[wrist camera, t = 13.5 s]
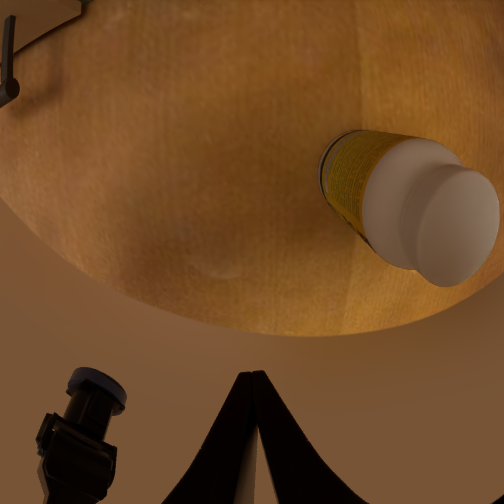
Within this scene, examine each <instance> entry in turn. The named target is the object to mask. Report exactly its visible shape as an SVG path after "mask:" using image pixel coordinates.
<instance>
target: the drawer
mask: <svg viewBox="0 0 504 504" xmlns="http://www.w3.org/2000/svg"><path fill="white" fill-rule="evenodd" d="M80 14H81V2H80V1H78V0H0V63H1V83H2V84H0V108H1V107H3V106H4V105H6V104H7V103H9V102H10V101H12V100H13V99H15V98H16V97H17V96H18V94H19V91H20V86H19V83H18V81H17V80H16V79H15V78H13V53H15V52H16V51H18V50H19V49H21V48H22V47H24V46H25V45H27V44H28V43H30V42H31V41H33V40H34V39H36V38H38V37H39V36H41V35H43V34H44V33H46V32H48V31H49V30H51V29H53V28H55V27H57V26H58V25H60V24H62V23H64V22H66V21H68V20H70V19H72V18H74V17H76V16H78V15H80Z"/></svg>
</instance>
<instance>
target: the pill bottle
mask: <svg viewBox="0 0 504 504" xmlns="http://www.w3.org/2000/svg"><path fill="white" fill-rule="evenodd" d="M318 181H319V187H320V190H321V193H322V195H323V197H324V199H325V200H326V202H327V203H328V204H329V206H330V207H331V208H332V209H333V210H334V211H335V212H336V213H337V214H338V215H339V216H340V217H341V218H342V219H343V220H344V221H345V222H346V223H347V224H348V225H349V226H350V227H351V228H352V229H353V230H354V231H355V232H356V233H357V234H358V235H359V236H360V237H361V238H362V239H363V240H364V241H365V242H366V243H367V244H368V245H369V246H370V247H371V248H372V249H373V251H374V252H376V253H377V254H378V255H379V256H380V257H381V258H383V259H384V260H385V261H386V262H388V263H390V264H392V265H394V266H396V267H399V268H402V269H409V270H415V269H416V270H417V271H418V272H419V273H420V274H421V275H422V276H423V277H425V278H426V279H427V280H428V281H429V282H431V283H432V284H434V285H437V286H441V287H450V286H455V285H457V284H460V283H462V282H464V281H466V280H467V279H469V278H470V277H471V276H473V275H474V274H475V273H476V272H477V271H478V270H479V269H480V267H481V266H482V265H483V264H484V262H485V261H486V259H487V258H488V256H489V254H490V252H491V250H492V248H493V246H494V243H495V240H496V237H497V234H498V229H499V221H500V207H499V200H498V197H497V193H496V191H495V189H494V187H493V185H492V184H491V182H490V181H489V180H488V179H487V178H486V177H485V176H484V175H483V174H481V173H479V172H477V171H475V170H472V169H469V168H466V167H464V166H463V164H462V163H461V161H460V160H459V159H458V157H457V156H456V155H455V154H454V153H453V152H452V151H451V150H449V149H448V148H447V147H445V146H444V145H442V144H440V143H438V142H435V141H432V140H428V139H424V138H419V137H413V136H406V135H399V134H392V133H385V132H377V131H369V130H354V131H349V132H346V133H344V134H342V135H340V136H338V137H337V138H335V139H334V140H333V141H332V142H331V143H330V144H329V145H328V147H327V148H326V150H325V151H324V153H323V155H322V157H321V160H320V163H319V169H318Z"/></svg>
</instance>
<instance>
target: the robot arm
mask: <svg viewBox="0 0 504 504" xmlns="http://www.w3.org/2000/svg"><path fill="white" fill-rule="evenodd" d="M66 393H67V394H68V395H70V396H71V397H72V398H71V400H70V402H69V404H68V406H67V409H66V411H65V413H64V416H63V418H62V417H60V416H59V415H58V414H57V413H55V412H54V413H53V415H52V414H49V413H47V414H46V416H45V418H44V420H43V422H42V425H41V427H40V430H39V432H38V435H37V437H36V443H37V445H38V447H37V448H38V451H37V454H38V455H39V456H41V460H40V463H39V466H38V469H37V472H38V476H39V480H40V483H41V486H42V489H43V492H44V495H45V497H44V501H43V504H96V503H97V502H99V501H101V500H103V499H104V498H105V497H106V495H107V489H108V488H109V487H110V486H111V484H112V482H113V479H114V476H115V468H116V457H117V447H115V446H112V445H110V444H108V443H105V442H104V439H105V436H106V433H107V429H108V426H109V423H110V419H111V416H112V415H113V414H116V413H118V412H121V411H123V410H125V406H124V405H123V404H121V403H120V402H119V401H117V400H116V399H114V398H113V397H111V396H110V395H109V394H107V393H106V392H105V391H103V390H102V389H101V388H99V387H98V386H97V385H95V384H94V383H93V382H92V381H90V380H89V379H87V378H84V379H82V380H81V381H79V382H77V383H76V384H74V385H73V386H71V387H69V388H68V389H67V390H66ZM258 428H259V433H260V437H261V441H262V446H263V450H264V454H265V458H266V462H267V466H268V470H269V474H270V477H271V481H272V485H273V489H274V493H275V497H276V500H277V504H369V503H367V502H366V501H364V500H363V499H362V498H360V497H359V496H358V495H357V494H355V493H354V492H353V491H352V490H351V489H350V488H349V487H348V486H347V485H346V484H345V483H344V482H343V481H342V480H341V479H340V478H339V477H338V476H337V475H336V474H335V473H334V472H333V471H332V470H331V469H330V468H329V467H328V465H327V464H326V463H325V462H324V461H323V460H322V459H321V457H320V456H319V455H318V453H317V452H316V450H315V449H314V448H313V446H312V445H311V443H310V442H309V441H308V439H307V438H306V436H305V434H304V433H303V431H302V430H301V428H300V427H299V425H298V424H297V422H296V421H295V419H294V418H293V416H292V415H291V413H290V411H289V410H288V408H287V407H286V405H285V404H284V402H283V401H282V399H281V397H280V396H279V394H278V392H277V391H276V389H275V388H274V386H273V384H272V383H271V381H270V379H269V378H268V376H267V375H266V373H265V371H263V370H259V371H253V372H252V373H251V372H241V373H239V374H238V376H237V378H236V380H235V383H234V384H233V386H232V388H231V390H230V392H229V394H228V396H227V398H226V400H225V402H224V404H223V406H222V408H221V410H220V412H219V414H218V416H217V418H216V420H215V422H214V423H213V426H212V427H211V429H210V431H209V433H208V435H207V437H206V439H205V440H204V442H203V444H202V446H201V449H200V450H199V452H198V453H197V455H196V457H195V459H194V460H193V462H192V464H191V465H190V467H189V469H188V470H187V471H186V473H185V474H184V476H183V477H182V478H181V480H180V481H179V483H178V484H177V485H176V486H175V487H174V489H173V490H172V491H171V492H170V494H169V495H168V496H167V497H166V499H165V500H164V501H163V502H162V503H161V504H253V503H254V487H255V472H256V455H257V437H258ZM52 429H54V430H55V431H53V430H52ZM491 504H504V494H503V495H502V496H500V497H499V498H498V499H496V500H495V501H493V502H492V503H491Z"/></svg>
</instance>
